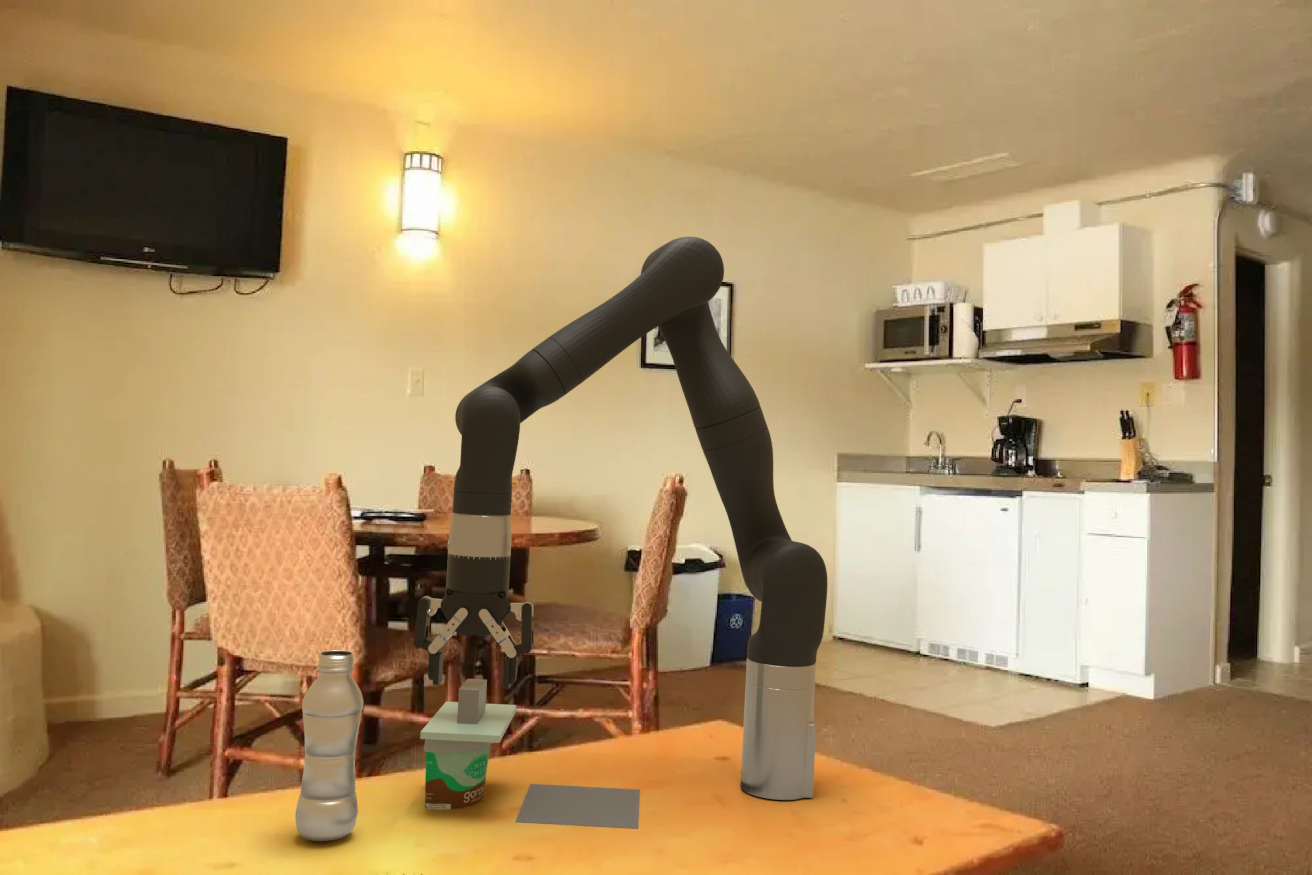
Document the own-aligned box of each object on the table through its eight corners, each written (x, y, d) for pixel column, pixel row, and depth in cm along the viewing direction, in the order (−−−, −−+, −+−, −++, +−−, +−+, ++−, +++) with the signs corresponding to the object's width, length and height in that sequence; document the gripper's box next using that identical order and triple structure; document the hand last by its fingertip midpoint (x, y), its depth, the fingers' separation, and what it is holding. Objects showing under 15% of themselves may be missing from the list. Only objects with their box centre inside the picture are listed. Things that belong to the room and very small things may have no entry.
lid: (515, 711, 131) (518, 673, 131) (499, 742, 116) (501, 700, 116) (445, 707, 131) (448, 670, 131) (420, 738, 116) (422, 696, 116)
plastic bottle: (368, 832, 114) (379, 651, 114) (330, 853, 107) (342, 661, 108) (320, 822, 116) (331, 645, 116) (280, 842, 109) (291, 654, 110)
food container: (469, 827, 117) (474, 739, 117) (419, 820, 118) (424, 733, 118) (506, 794, 129) (511, 714, 129) (460, 789, 130) (465, 710, 130)
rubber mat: (639, 797, 130) (639, 789, 130) (637, 837, 116) (638, 828, 116) (529, 791, 130) (530, 783, 130) (514, 830, 116) (515, 821, 116)
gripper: (541, 551, 128) (534, 682, 128) (427, 545, 128) (420, 676, 128) (534, 557, 121) (526, 695, 120) (413, 550, 121) (405, 689, 120)
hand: (471, 685), depth 124 cm, fingers open, 8 cm apart
